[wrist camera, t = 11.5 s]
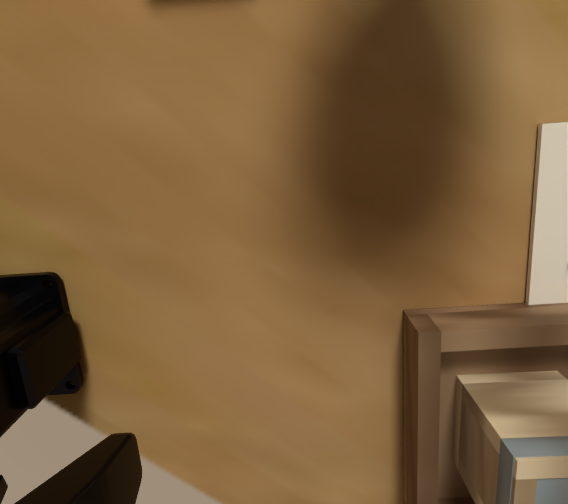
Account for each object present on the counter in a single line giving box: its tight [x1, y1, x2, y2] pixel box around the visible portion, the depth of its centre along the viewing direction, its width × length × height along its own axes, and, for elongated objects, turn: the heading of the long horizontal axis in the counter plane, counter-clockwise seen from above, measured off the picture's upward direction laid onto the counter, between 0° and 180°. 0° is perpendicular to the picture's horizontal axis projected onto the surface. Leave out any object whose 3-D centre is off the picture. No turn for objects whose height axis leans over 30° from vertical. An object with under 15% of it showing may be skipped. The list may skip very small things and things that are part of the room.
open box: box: [403, 303, 568, 504], centre depth 21 cm, size 10×12×3 cm
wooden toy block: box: [452, 371, 568, 504], centre depth 19 cm, size 5×5×6 cm
